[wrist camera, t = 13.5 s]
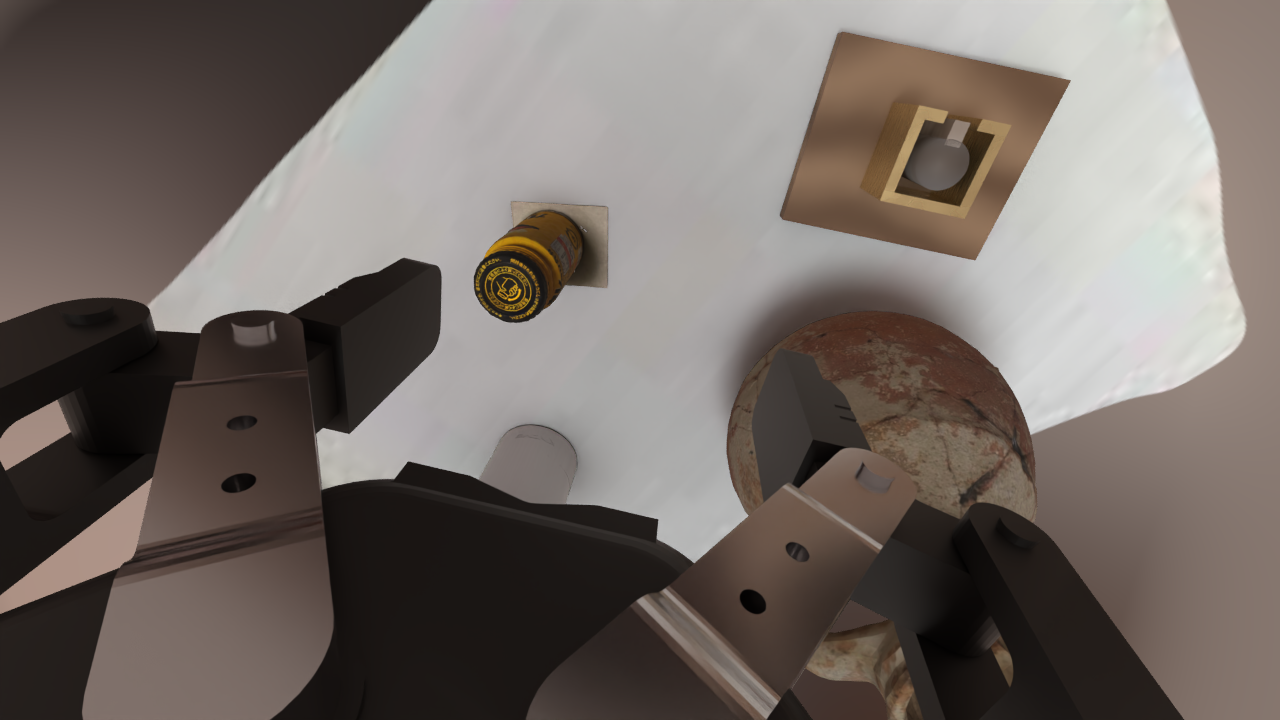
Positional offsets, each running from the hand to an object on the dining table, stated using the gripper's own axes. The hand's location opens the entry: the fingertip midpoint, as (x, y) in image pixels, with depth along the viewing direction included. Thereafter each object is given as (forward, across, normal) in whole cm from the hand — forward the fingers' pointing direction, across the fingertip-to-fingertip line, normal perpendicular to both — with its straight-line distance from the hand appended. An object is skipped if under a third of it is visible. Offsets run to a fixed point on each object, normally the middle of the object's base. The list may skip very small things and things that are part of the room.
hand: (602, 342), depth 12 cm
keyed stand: (+33, -18, -5) cm, 38 cm away
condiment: (+34, +8, +9) cm, 36 cm away
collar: (+32, -18, -5) cm, 37 cm away
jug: (+34, -20, +16) cm, 43 cm away
